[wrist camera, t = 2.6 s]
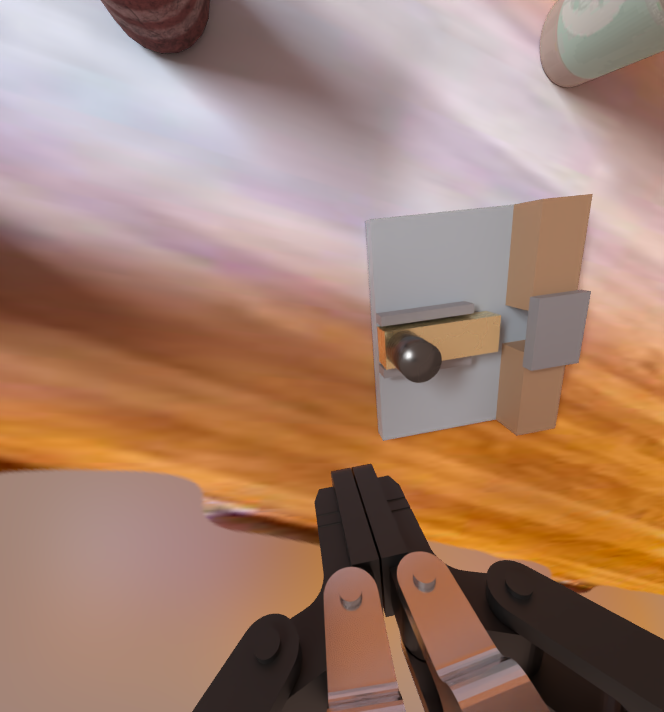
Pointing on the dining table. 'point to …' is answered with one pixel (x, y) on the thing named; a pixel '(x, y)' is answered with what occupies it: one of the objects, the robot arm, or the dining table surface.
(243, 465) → the dining table surface
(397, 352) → the bolt
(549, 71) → the coffee cup
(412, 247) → the door plate
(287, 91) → the dining table surface
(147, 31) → the can
